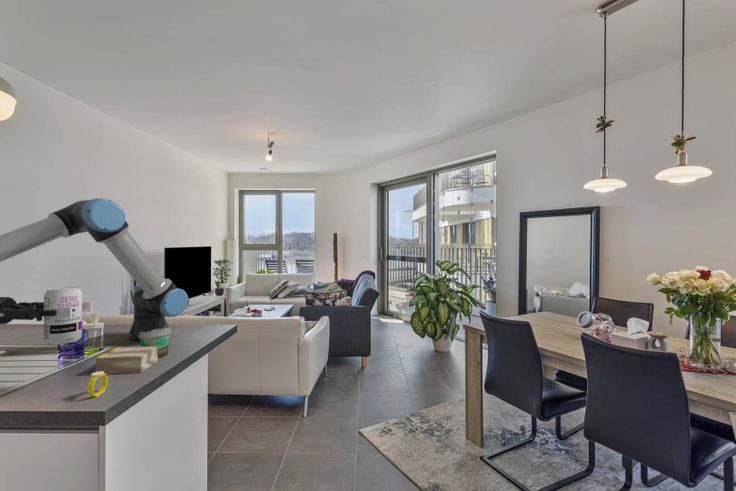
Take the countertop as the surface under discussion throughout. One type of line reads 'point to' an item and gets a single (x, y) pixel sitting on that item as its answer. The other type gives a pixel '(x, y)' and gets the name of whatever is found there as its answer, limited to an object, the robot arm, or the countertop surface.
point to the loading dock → (127, 359)
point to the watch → (92, 382)
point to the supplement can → (63, 327)
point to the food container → (157, 339)
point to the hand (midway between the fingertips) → (81, 309)
